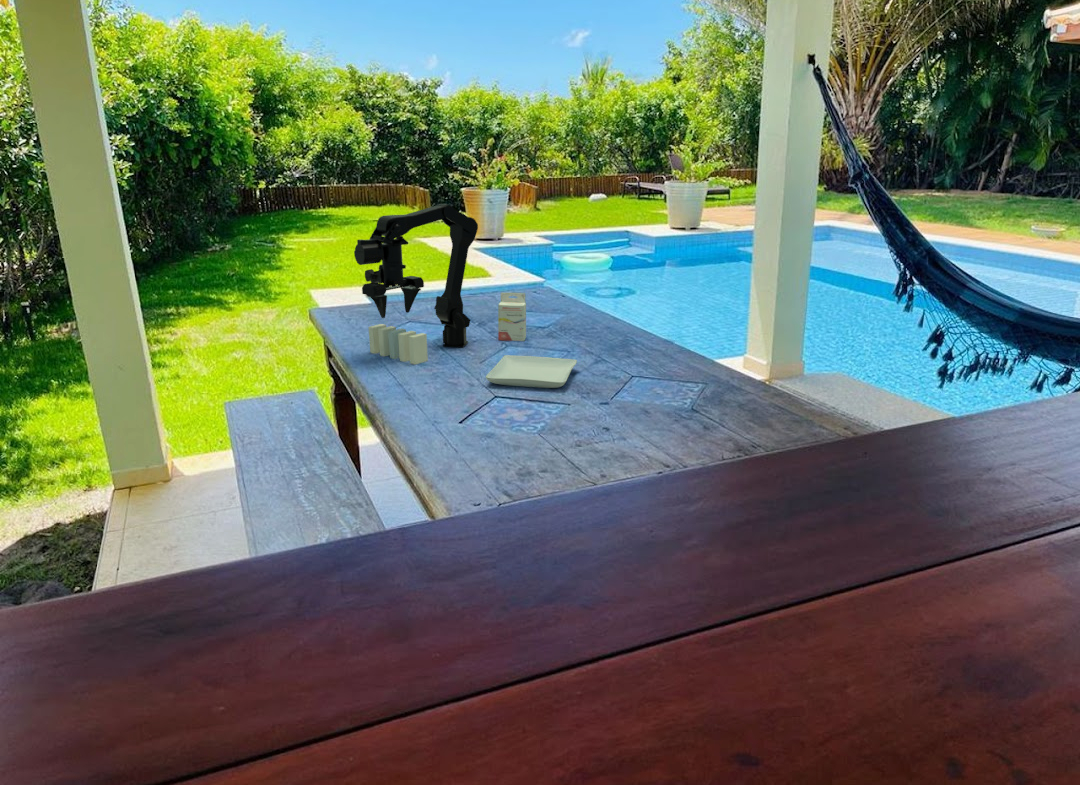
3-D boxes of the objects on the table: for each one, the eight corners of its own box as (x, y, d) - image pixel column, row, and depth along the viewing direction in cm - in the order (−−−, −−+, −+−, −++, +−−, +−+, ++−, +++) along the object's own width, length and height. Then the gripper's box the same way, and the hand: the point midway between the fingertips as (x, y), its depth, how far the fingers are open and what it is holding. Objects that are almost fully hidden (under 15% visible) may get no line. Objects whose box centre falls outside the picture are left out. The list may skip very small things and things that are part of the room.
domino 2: (379, 355, 229) (378, 329, 226) (393, 351, 232) (391, 326, 230) (384, 356, 228) (382, 330, 225) (397, 353, 231) (395, 327, 229)
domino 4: (399, 360, 223) (398, 333, 221) (412, 357, 227) (411, 330, 224) (404, 361, 222) (402, 335, 220) (417, 358, 226) (416, 331, 223)
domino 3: (390, 357, 226) (388, 331, 223) (403, 354, 230) (401, 328, 227) (394, 359, 225) (392, 332, 222) (407, 355, 228) (406, 329, 226)
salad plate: (565, 393, 195) (565, 381, 194) (484, 388, 200) (484, 376, 198) (578, 370, 215) (578, 358, 214) (504, 366, 219) (504, 354, 218)
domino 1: (370, 352, 232) (368, 326, 229) (383, 349, 235) (381, 323, 233) (374, 353, 230) (372, 327, 228) (387, 350, 234) (386, 324, 231)
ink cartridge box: (498, 340, 245) (497, 295, 240) (500, 337, 250) (499, 292, 245) (524, 341, 244) (524, 295, 239) (526, 337, 249) (526, 292, 244)
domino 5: (410, 363, 221) (408, 336, 218) (423, 359, 224) (421, 333, 222) (414, 364, 219) (413, 337, 217) (427, 360, 223) (426, 334, 220)
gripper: (398, 255, 230) (401, 306, 235) (347, 262, 216) (351, 316, 221) (423, 258, 224) (426, 311, 228) (373, 266, 210) (377, 322, 215)
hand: (395, 315), depth 223 cm, fingers open, 9 cm apart
